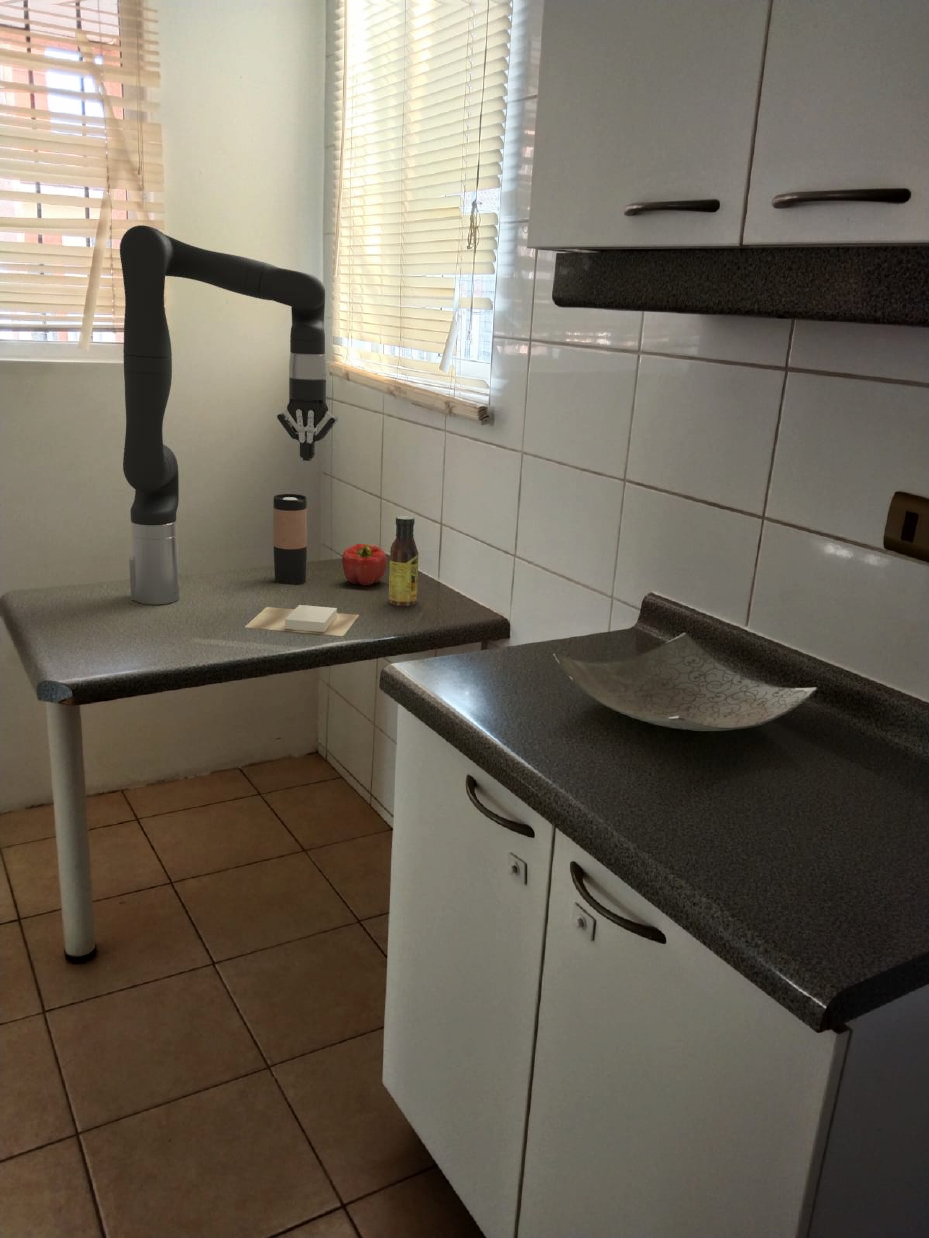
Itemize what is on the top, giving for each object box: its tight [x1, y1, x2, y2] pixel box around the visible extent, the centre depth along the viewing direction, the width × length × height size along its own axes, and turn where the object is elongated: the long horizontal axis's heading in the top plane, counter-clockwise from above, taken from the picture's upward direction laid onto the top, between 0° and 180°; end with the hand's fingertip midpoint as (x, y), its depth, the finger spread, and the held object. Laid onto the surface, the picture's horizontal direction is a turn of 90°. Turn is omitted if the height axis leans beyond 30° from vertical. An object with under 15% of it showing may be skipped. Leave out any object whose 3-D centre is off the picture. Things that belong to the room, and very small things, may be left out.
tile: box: [285, 604, 338, 632], centre depth 203 cm, size 8×2×10 cm
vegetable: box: [341, 543, 388, 586], centre depth 235 cm, size 11×10×10 cm
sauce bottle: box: [388, 515, 419, 607], centre depth 218 cm, size 7×6×20 cm
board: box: [244, 606, 360, 637], centre depth 204 cm, size 20×14×1 cm
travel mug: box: [272, 493, 308, 586], centre depth 232 cm, size 8×8×20 cm
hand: (307, 460), depth 212 cm, fingers closed
